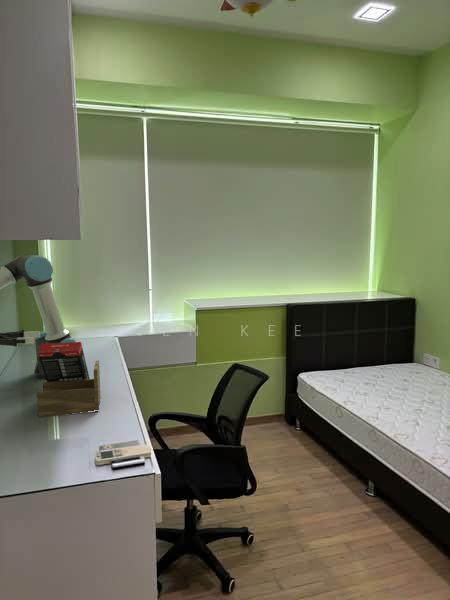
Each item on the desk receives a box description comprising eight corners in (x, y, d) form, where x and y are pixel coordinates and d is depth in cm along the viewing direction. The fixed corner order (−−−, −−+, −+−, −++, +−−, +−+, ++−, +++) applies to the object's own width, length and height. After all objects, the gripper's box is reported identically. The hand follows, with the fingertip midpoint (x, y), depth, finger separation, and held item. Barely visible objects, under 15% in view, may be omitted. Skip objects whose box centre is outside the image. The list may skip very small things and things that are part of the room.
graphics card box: (92, 386, 198) (81, 339, 183) (90, 396, 192) (78, 349, 178) (54, 388, 197) (40, 342, 182) (51, 399, 191) (36, 352, 176)
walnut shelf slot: (44, 404, 185) (42, 364, 182) (100, 399, 190) (99, 360, 188) (38, 417, 171) (35, 373, 169) (98, 411, 177) (97, 369, 174)
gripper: (-9, 341, 194) (41, 339, 199) (-26, 354, 170) (32, 352, 175) (-10, 325, 193) (41, 323, 199) (-27, 336, 169) (31, 334, 175)
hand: (37, 337), depth 187 cm, fingers open, 13 cm apart
